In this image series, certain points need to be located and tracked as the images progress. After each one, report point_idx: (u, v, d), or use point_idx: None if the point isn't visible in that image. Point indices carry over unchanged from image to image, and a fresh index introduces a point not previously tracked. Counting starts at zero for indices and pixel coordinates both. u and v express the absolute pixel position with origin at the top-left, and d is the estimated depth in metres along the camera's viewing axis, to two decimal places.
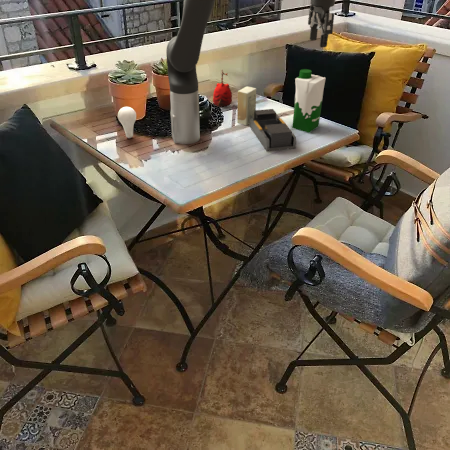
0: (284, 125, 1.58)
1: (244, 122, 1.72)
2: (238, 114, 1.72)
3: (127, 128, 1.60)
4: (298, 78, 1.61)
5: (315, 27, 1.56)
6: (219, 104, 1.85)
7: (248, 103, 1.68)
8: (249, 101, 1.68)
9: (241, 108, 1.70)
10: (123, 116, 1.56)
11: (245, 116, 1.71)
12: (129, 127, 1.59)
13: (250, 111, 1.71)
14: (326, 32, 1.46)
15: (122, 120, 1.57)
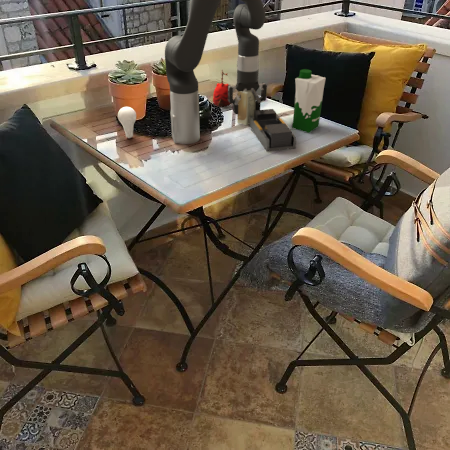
0: (284, 125, 1.58)
1: (244, 122, 1.72)
2: (238, 114, 1.72)
3: (127, 128, 1.60)
4: (298, 78, 1.61)
5: None
6: (219, 104, 1.85)
7: (248, 103, 1.68)
8: (249, 101, 1.68)
9: (241, 108, 1.70)
10: (123, 116, 1.56)
11: (245, 116, 1.71)
12: (129, 127, 1.59)
13: (250, 111, 1.71)
14: None
15: (122, 120, 1.57)
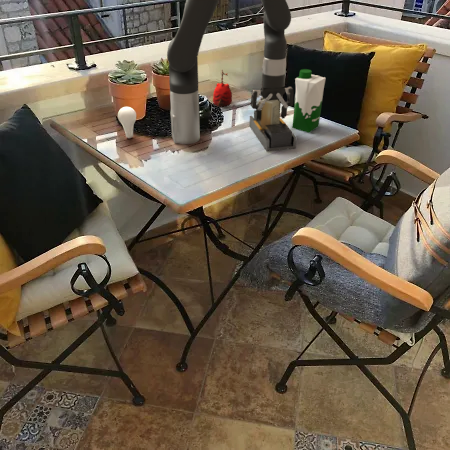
0: (284, 125, 1.58)
1: None
2: (261, 124, 1.62)
3: (127, 128, 1.60)
4: (298, 78, 1.61)
5: None
6: (219, 104, 1.85)
7: (272, 113, 1.58)
8: (273, 111, 1.58)
9: (265, 119, 1.60)
10: (123, 116, 1.56)
11: None
12: (129, 127, 1.59)
13: (274, 122, 1.61)
14: None
15: (122, 120, 1.57)
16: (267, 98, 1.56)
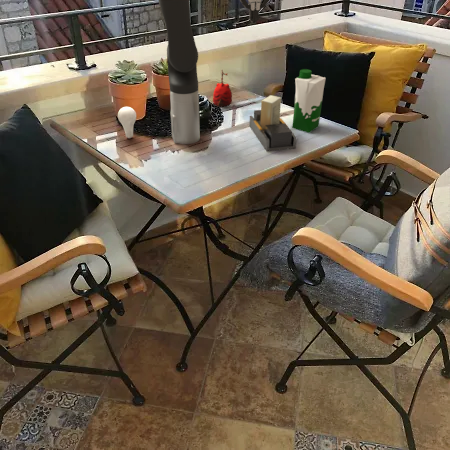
0: (284, 125, 1.58)
1: None
2: (261, 124, 1.62)
3: (127, 128, 1.60)
4: (298, 78, 1.61)
5: None
6: (219, 104, 1.85)
7: (272, 113, 1.58)
8: (273, 111, 1.58)
9: (265, 119, 1.60)
10: (123, 116, 1.56)
11: None
12: (129, 127, 1.59)
13: (274, 122, 1.61)
14: None
15: (122, 120, 1.57)
16: None
